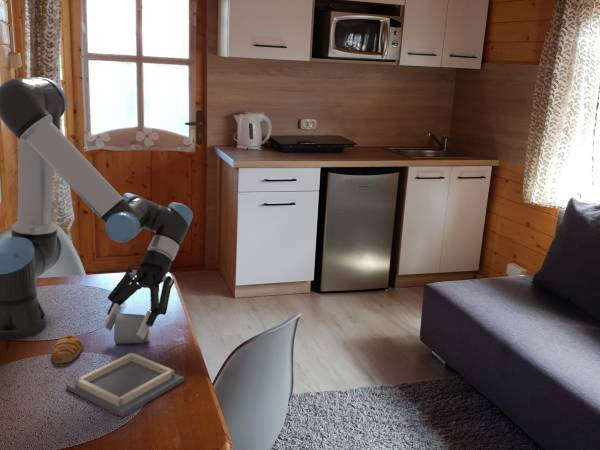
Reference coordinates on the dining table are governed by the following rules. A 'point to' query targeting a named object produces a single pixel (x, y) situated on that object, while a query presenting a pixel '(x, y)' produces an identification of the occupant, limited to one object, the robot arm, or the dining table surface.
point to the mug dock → (125, 383)
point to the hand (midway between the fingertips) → (123, 332)
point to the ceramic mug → (128, 328)
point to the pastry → (66, 349)
